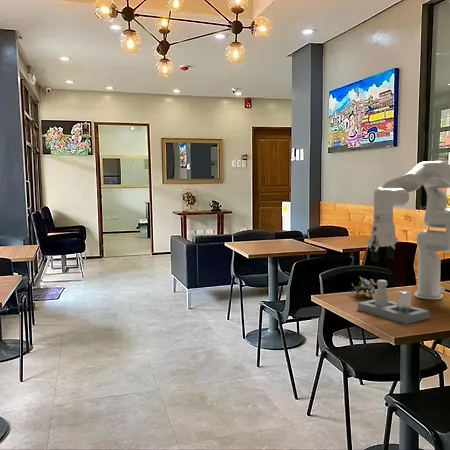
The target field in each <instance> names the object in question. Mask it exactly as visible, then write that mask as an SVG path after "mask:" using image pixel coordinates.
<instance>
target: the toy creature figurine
mask: <svg viewBox="0 0 450 450" xmlns="http://www.w3.org/2000/svg"><path fill="white" fill-rule="evenodd" d="M359 279H360V281H359V282H358V285H357V286H355V285H354V283H353V282H352V283H351V285H352V287H354V288H353V289H352V290H351V293H353V292H355V291H356V292H355V296H354V297H357V295H358V294H359V293H360V292H363V294H364V293H366V294H367V293H368V296H369V297H370V298H372V297H374V298H375V295H374V294H376V288H375V286H377V282H375V281H374V279H372V278H370V280H368V279H367V278H363V277H361V276H359Z"/></svg>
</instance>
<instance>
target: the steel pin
mask: <svg viewBox="0 0 450 450" xmlns="http://www.w3.org/2000/svg"><path fill="white" fill-rule="evenodd" d="M396 294H397V296H396V297H397V299H396V302H397V311H398V312H402V313H405V314H406V313H411V306H412V304H411V303H412V292H410V291H408V290H407V291H406V290H400V291H399V290H398V291H397V293H396Z"/></svg>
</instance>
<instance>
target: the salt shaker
mask: <svg viewBox="0 0 450 450" xmlns="http://www.w3.org/2000/svg"><path fill="white" fill-rule="evenodd" d="M376 286H377V291H376V293H375V304H374V305H376V306H380V307H386V306H389V303H388V300H389V299H388V292H387V286H388V281H387V280H385V279H377V281H376Z"/></svg>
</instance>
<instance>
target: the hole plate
mask: <svg viewBox="0 0 450 450" xmlns="http://www.w3.org/2000/svg"><path fill="white" fill-rule="evenodd" d="M375 299H376V298H375ZM375 299H374V298H373V299H370V300H365V301H361V302H357V310H359V311H361V312H364V311H365V313H367V312H368V313H367V314H372V315H375V316H376V317H377V316H378V317H381V318H385V319H388V320H391V321H394V322H398V323H401V324H405V325H408V324H413V323H416V322H421V321H424V320H429V319H430V310H427V309H423V308H420V307H416V306H412V305H411V313H406V314H405V313H402V312H398V311H397V301H392V300H389V299H388V303H389V306H386V307H380V306H376V305H374V304H375Z"/></svg>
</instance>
